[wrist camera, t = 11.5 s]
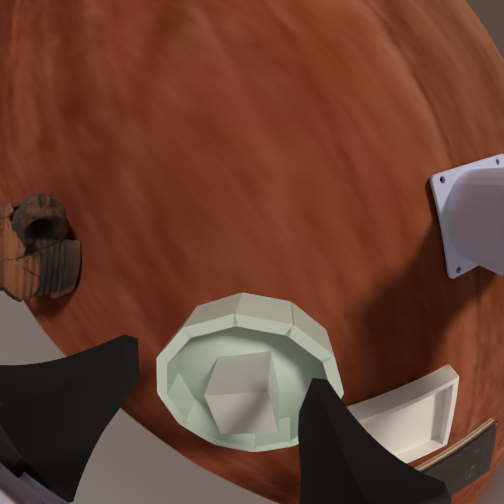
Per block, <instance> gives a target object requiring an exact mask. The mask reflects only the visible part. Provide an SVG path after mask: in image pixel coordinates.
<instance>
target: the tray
mask: <svg viewBox="0 0 504 504" xmlns="http://www.w3.org/2000/svg"><path fill="white" fill-rule="evenodd" d="M458 381H459V376H458V374H457V373H456V372H455V371H454V370H453V368H452V367H451V366H450V365H449V364H447V365H445V366H444V367H442V368H440V369H438V370H436V371H434V372H432V373H430V374H428V375H426V376H424V377H421V378H419V379H417V380H415V381H413V382H410V383H408V384H406V385H404V386H401V387H399V388H397V389H394V390H392V391H389V392H387V393H384V394H381V395H379V396H376V397H374V398H371V399H368V400H365V401H362V402H359V403H356V404H353V405H350V406H347V408H348V409H349V411H350V412H351V413H352V414H353V416H354V417H355V418H356V419H357V421H358V422H359V423H360V424H361V425H362V426H363V427H364V428H365V430H366V431H367V432H368V433H369V434H370V435H371V436H372V437H373V438H374V439H375V440H377V441H378V442H379V443H380V444H381V445H382V446H383V447H384V448H386V449H387V450H388V451H389V452H391V453H392V454H393V455H395V456H396V457H397V458H399V459H400V460H402V461H403V462H405V463H409V462H411V461H413V460H416V459H418V458H420V457H422V456H425V455H427V454H429V453H431V452H433V451H435V450H437V449H439V448H441V447H443V446H445V445H447V442H448V438H449V433H450V429H451V424H452V419H453V414H454V409H455V403H456V396H457V389H458Z"/></svg>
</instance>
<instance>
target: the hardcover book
mask: <svg viewBox="0 0 504 504" xmlns="http://www.w3.org/2000/svg"><path fill="white" fill-rule="evenodd" d="M497 425H498V421H496V422H495V423H494V421H493V419H492V418H489V419H488V420H487V421H486V422H484V423H483V424H482V425H481V426H479V427H478V428H477V429H475V430H474V431H473V432H471V433H470V434H469V435H467V436H466V437H464V438H463V439H461V440H460V441H459V442H457V443H456V444H454V445H452V446H451V447H449V448H448V449H446V450H445V451H443V452H441V453H440V454H438V455H436V456H435V457H433V458H431V459H430V460H428V461H426V462H424V463H422V464H421V465H419V466H417V467H415V469H417V470H418V471H420V472H422V473H424V474H426V475H429V476H431V477H433V478H436V479H438V480H441V481H443V482H445V484H446V487H447V489H448V492H449V494H450V496H451V495H453V494H455V493H456V492H458V491H459V490H461V489H463V488H464V487H466V486H467V485H469V484H470V483H472V482H473V481H475V480H476V479H478V478H479V477H481V476H482V475H484V474H485V473H486V472H488V471H489V467H490V463H491V458H492V454H493V449H494V444H495V438H496V432H497Z"/></svg>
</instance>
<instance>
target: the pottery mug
mask: <svg viewBox="0 0 504 504" xmlns="http://www.w3.org/2000/svg"><path fill="white" fill-rule="evenodd" d="M68 230H69V222H68V220H67V218H66V212H65V209H64V206H63V205H62V204H61V203H60V202H59V201H58V200H57V199H56V198H54V197H53V196H51V195H48V194H34V195H31V196H29V197H28V198H26V199H25V200H24V201H22V202H17V203H15V204H12V203H11V202H9V203H8V204H7V205H6V206H0V291H4V292H5V293H6V294H7V295H8V296H10V297H11V298H12V299H14V300H16V301H18V302H21V301H22V300H24V299H26V300H29V299H31V298H32V297H33V295H35V296H36V297H37V296H43V295H45V294H49V293H50V297H51V298H57V297H60V296H62V295H64V294H68V293H70V292H72V291H73V289H74V287H75V284H76V282H77V278H78V275H79V268H80V261H81V247H80V241H79V240H70V239H64V237H65V236H66V234H67V233H68ZM33 242H34V244H35V245H36V247H37V249H38V250H37V251H36V252H34V253H31V254H27V246H26V245H30V244H32V243H33Z"/></svg>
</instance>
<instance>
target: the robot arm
mask: <svg viewBox="0 0 504 504" xmlns="http://www.w3.org/2000/svg"><path fill="white" fill-rule="evenodd" d="M496 161H497V163H496ZM440 177H442V183H441V182H440ZM430 184H431V188H432V192H433V196H434V200H435V204H436V209H437V213H438V218H439V223H440V228H441V233H442V239H443V245H444V252H445V259H446V267H447V274H448V276H449V277H450V278H456V277H458V276H460V275H462V274H464V273H466V272H467V271H469V270H471V269H473V268H475V267H477V266H479V265H480V266H482V267H484V268H486V269H488V270H490V271H492V272H495V273H497V274H499V275H501V276H503V277H504V154H499V155H496V156H492V157H489V158H486V159H482V160H479V161H476V162H472V163H469V164H466V165H463V166H460V167H456V168H453V169H450V170H447V171H444V172H440V173H437V174H434V175H432V176H431V178H430ZM458 267H459V268H458ZM457 268H458V271H457V272H456V270H457ZM139 376H140V375H139V357H138V339H137V338H134V337H131V336H128V335H123V336H120V337H117V338H115V339H113V340H110V341H108V342H105V343H103V344H101V345H98V346H96V347H93V348H91V349H88V350H86V351H83V352H80V353H77V354H74V355H71V356H68V357H65V358H61V359H58V360H53V361H49V362H43V363H37V364H28V365H13V366H12V365H0V504H70V503H69V502H73V500H74V497H75V494H76V491H77V487H78V485H79V481H80V479H81V476H82V474H83V471H84V469H85V467H86V464H87V462H88V460H89V458H90V455H91V453H92V451H93V449H94V447H95V445H96V443H97V441H98V440H99V438H100V436H101V434H102V432H103V431H104V429H105V428H106V426H107V425H108V423H109V422H110V421H111V419H112V418H113V416H114V415H115V414H116V412H117V411H118V410H119V408H120V407H121V406H122V404H123V403H124V401H125V400H126V399H127V397H128V396H129V394H130V393H131V391H132V389H133V387H134V386H135V384H136V382H137V380H138V378H139ZM298 442H299V455H300V467H301V496H300V504H450V503H451V497H450V494H449V492H448V489H447V487H446V484H445V482H443V481H441V480H438V479H436V478H433V477H431V476H429V475H426V474H424V473H422V472H420V471H418V470H417V469H415V468H413V467H411V466H410V465H408V464H406V463H405V462H403V461H402V460H400V459H399V458H397V457H396V456H395V455H393V454H392V453H391V452H389V451H388V450H387V449H386V448H384V447H383V446H382V445H381V444H380V443H379V442H378V441H377V440H375V439H374V438H373V437H372V436H371V435H370V434H369V433H368V432H367V431H366V430H365V428H364V427H363V426H362V425H361V424H360V423H359V422H358V421H357V419H356V418H355V417H354V416H353V414H352V413H351V412H350V411H349V409H348V408H347V407H346V405H345V404H344V403H343V401H342V400H341V398H340V397H339V396H338V394H337V393H336V391H335V390H334V388H333V387H332V386H331V384H330V383H329V381H328V380H327V379H319V378H312V381H311V383H310V386H309V388H308V391H307V393H306V396H305V398H304V401H303V403H302V406H301V408H300V411H299V418H298Z"/></svg>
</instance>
